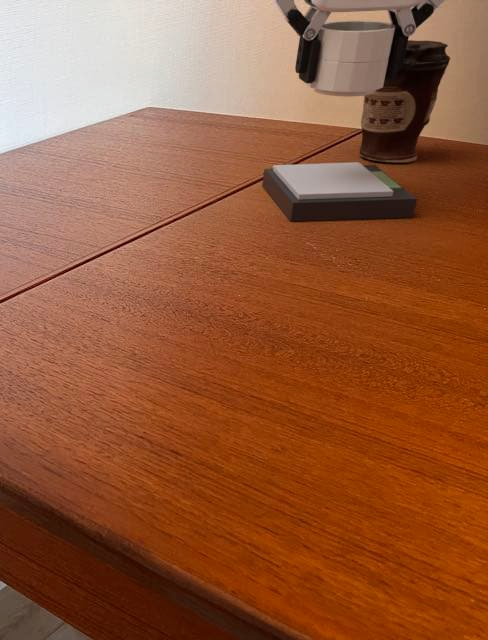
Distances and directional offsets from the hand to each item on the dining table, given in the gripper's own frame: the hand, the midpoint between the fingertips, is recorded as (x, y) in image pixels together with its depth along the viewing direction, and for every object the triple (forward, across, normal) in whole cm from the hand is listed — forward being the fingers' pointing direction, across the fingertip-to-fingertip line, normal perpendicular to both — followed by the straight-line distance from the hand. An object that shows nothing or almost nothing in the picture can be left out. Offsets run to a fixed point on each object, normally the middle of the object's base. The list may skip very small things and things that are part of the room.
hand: (346, 77), depth 86 cm
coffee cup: (+13, +12, +15) cm, 23 cm away
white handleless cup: (+1, 0, 0) cm, 1 cm away
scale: (+13, +1, 0) cm, 13 cm away
